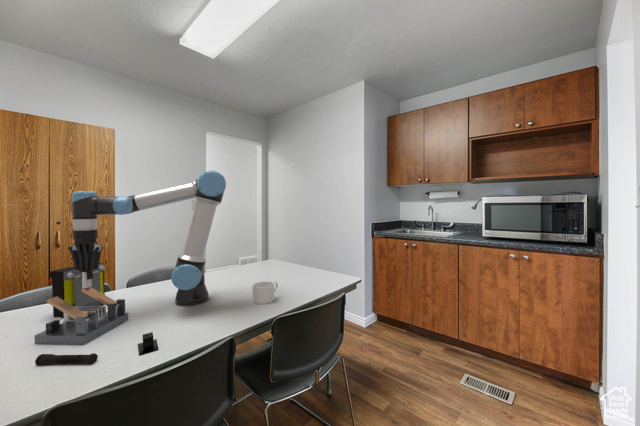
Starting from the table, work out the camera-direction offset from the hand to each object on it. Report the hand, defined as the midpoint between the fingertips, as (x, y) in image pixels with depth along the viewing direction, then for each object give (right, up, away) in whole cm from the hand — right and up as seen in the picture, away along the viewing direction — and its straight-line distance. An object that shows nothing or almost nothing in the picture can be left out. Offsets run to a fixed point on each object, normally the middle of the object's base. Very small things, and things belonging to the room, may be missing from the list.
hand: (87, 287), depth 109 cm
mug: (+68, -14, +25) cm, 74 cm away
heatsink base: (+5, -15, -6) cm, 17 cm away
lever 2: (+5, -4, 0) cm, 7 cm away
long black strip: (+18, -16, -27) cm, 36 cm away
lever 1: (+4, -5, -13) cm, 15 cm away
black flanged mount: (+37, -16, -19) cm, 44 cm away
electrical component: (-16, -15, +15) cm, 26 cm away
